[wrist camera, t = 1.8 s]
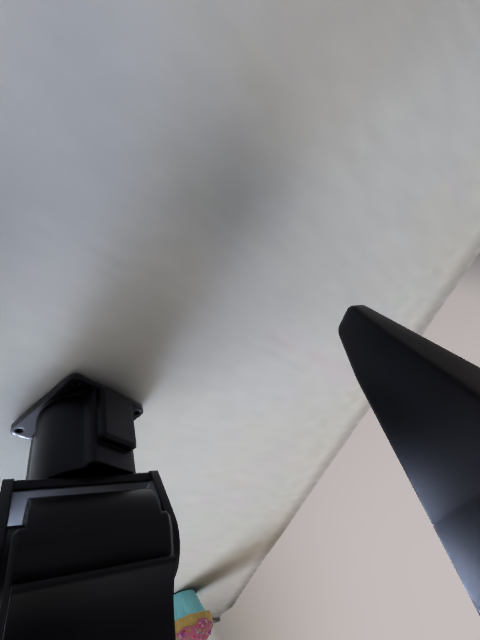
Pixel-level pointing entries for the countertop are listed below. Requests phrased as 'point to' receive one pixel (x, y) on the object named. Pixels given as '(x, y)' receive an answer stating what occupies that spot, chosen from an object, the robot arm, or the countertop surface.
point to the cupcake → (191, 617)
